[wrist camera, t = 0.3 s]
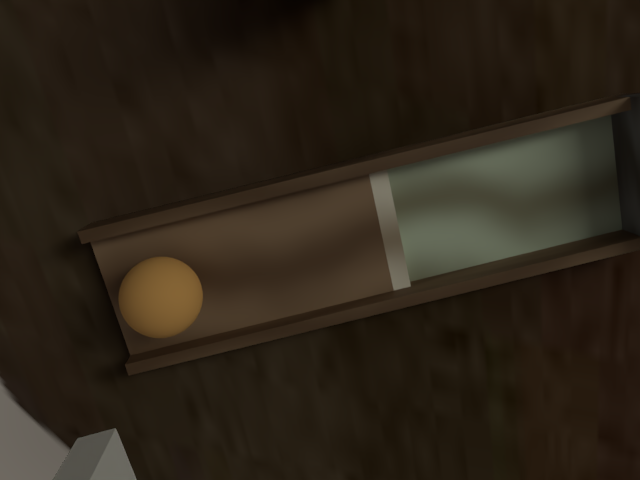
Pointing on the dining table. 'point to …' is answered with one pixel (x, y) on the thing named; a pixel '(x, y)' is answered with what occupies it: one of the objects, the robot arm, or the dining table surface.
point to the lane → (388, 228)
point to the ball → (160, 297)
